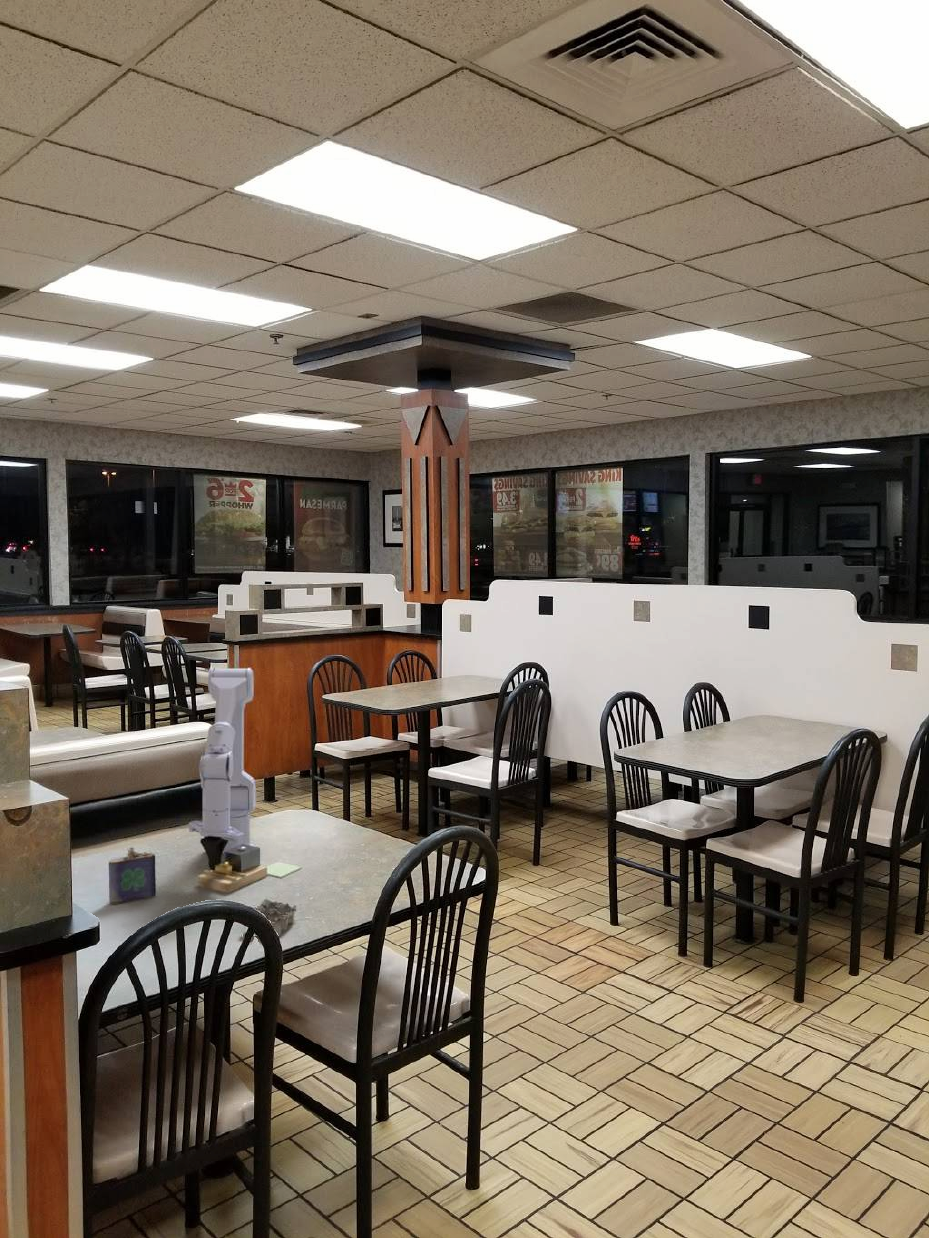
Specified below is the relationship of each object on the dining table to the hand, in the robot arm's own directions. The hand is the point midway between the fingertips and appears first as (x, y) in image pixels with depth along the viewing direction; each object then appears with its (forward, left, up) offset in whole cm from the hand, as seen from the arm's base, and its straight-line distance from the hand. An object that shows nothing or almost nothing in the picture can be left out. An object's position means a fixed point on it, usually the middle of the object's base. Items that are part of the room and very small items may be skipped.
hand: (216, 869), depth 204 cm
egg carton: (+26, -12, -3) cm, 29 cm away
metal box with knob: (+2, +5, -1) cm, 6 cm away
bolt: (+2, 0, -1) cm, 2 cm away
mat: (+7, +12, -3) cm, 15 cm away
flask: (-8, -16, -3) cm, 18 cm away
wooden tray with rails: (+2, +2, -3) cm, 4 cm away
